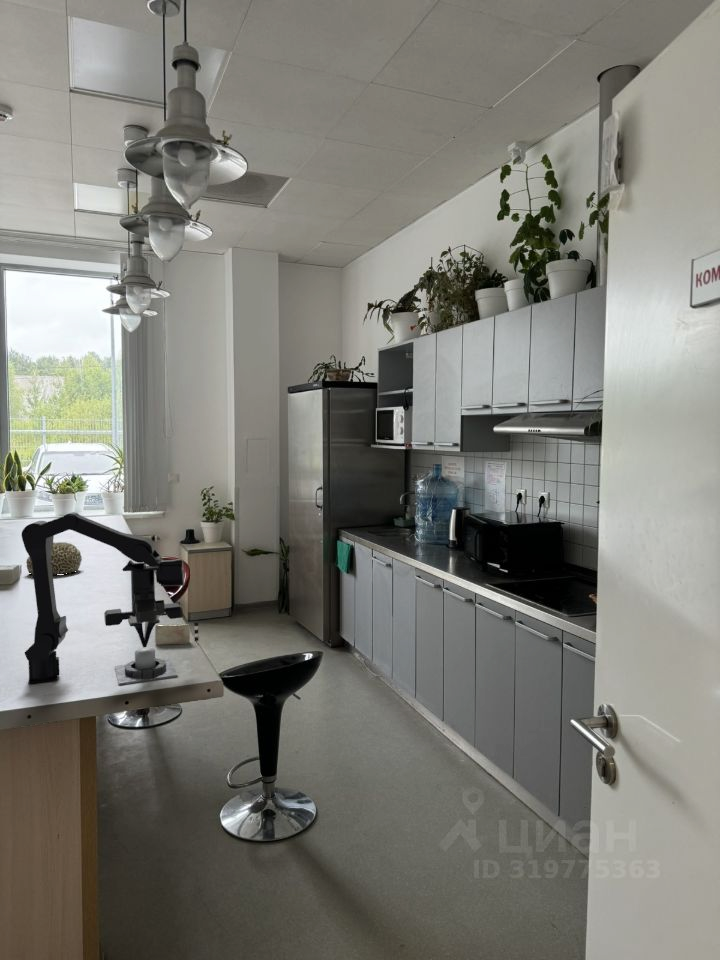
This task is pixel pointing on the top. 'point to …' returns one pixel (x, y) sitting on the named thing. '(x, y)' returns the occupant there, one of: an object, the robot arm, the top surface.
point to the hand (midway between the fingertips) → (144, 646)
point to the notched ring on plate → (144, 672)
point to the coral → (62, 559)
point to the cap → (145, 658)
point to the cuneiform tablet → (174, 634)
